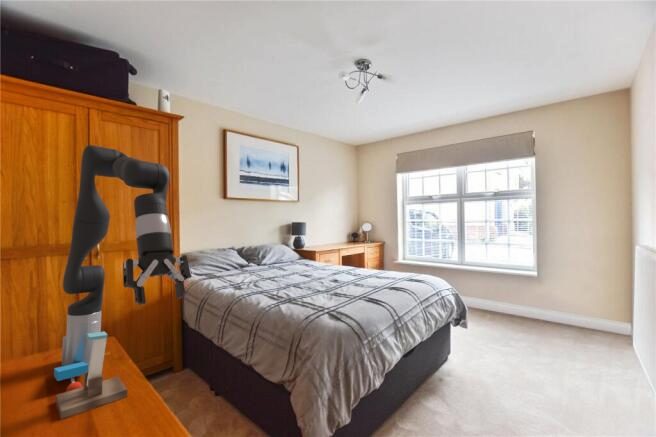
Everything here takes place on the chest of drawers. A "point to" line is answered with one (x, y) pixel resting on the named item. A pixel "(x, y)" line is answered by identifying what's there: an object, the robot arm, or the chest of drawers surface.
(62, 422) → the chest of drawers surface
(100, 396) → the catapult stand
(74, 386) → the lever
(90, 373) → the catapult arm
